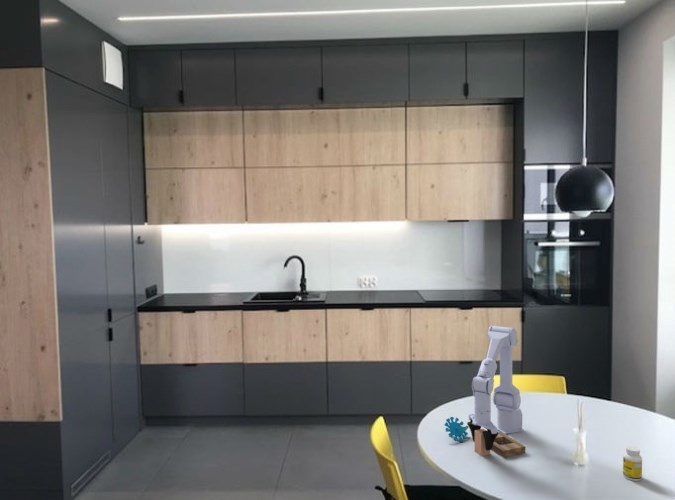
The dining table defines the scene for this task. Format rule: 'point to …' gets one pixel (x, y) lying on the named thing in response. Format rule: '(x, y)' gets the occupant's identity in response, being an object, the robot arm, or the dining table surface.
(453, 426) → the gear
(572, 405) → the dining table surface
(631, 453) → the supplement bottle
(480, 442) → the peg
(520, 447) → the socket block
